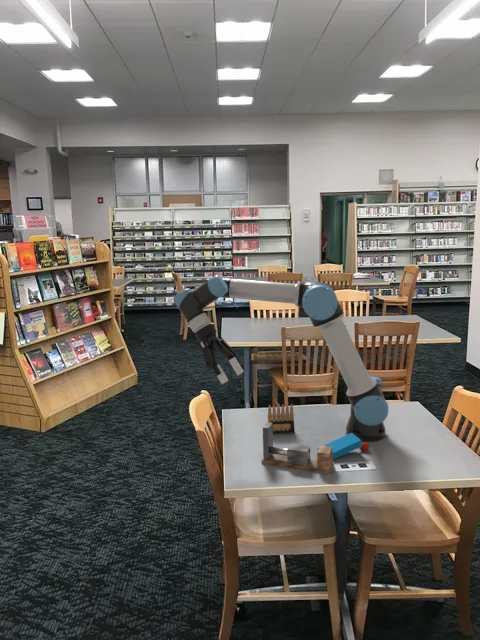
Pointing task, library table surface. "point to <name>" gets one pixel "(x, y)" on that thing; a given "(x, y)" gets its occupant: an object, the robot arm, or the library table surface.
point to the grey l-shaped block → (271, 443)
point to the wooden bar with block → (303, 459)
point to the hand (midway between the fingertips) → (233, 377)
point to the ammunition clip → (281, 419)
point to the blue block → (346, 445)
